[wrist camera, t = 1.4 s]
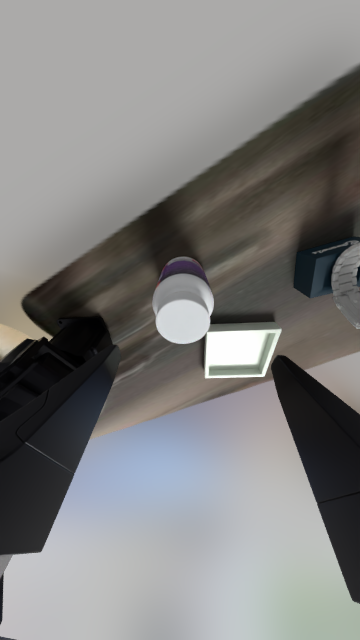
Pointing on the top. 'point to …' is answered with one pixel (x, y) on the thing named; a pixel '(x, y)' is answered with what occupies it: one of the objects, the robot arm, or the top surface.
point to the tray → (239, 349)
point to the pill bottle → (183, 301)
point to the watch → (332, 275)
